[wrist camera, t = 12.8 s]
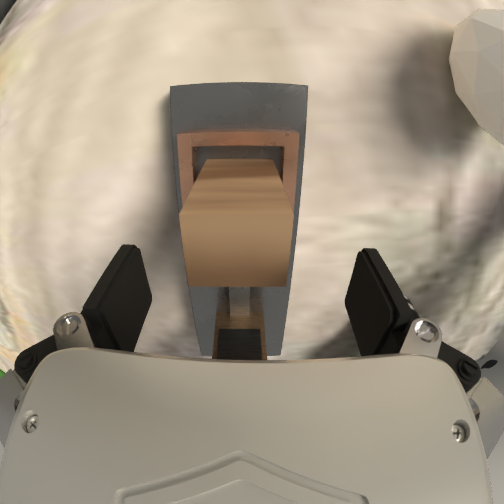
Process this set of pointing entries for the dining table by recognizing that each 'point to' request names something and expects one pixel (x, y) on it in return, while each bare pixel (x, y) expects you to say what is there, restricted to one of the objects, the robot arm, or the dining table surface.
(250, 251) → the gripped brown wooden block
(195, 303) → the rail
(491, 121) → the geodesic sphere
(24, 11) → the dining table surface
